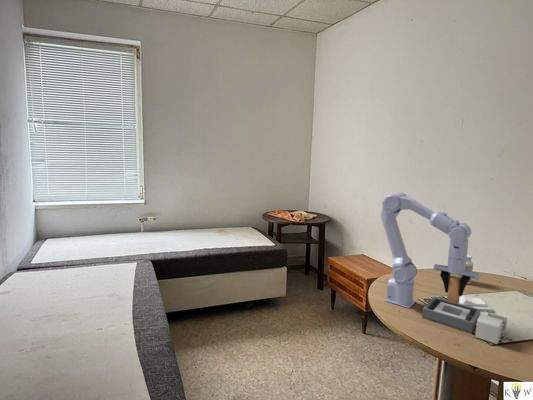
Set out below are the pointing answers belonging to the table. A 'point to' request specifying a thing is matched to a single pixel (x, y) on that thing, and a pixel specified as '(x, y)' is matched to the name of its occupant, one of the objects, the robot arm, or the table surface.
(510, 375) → the table surface
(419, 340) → the table surface
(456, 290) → the brown cylindrical peg
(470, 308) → the walled box
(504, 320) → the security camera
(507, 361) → the table surface
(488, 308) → the light switch
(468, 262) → the supplement bottle
